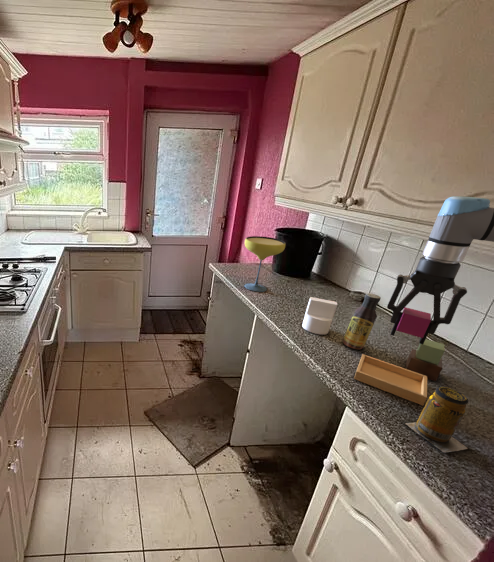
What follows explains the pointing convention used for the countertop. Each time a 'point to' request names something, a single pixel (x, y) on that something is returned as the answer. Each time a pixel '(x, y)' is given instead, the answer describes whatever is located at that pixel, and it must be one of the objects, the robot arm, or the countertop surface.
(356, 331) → the sauce bottle
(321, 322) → the base with upright slab
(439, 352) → the sage block
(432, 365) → the walnut block
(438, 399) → the condiment
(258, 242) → the cocktail glass
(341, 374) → the countertop surface
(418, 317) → the mulberry block
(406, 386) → the oak tray
